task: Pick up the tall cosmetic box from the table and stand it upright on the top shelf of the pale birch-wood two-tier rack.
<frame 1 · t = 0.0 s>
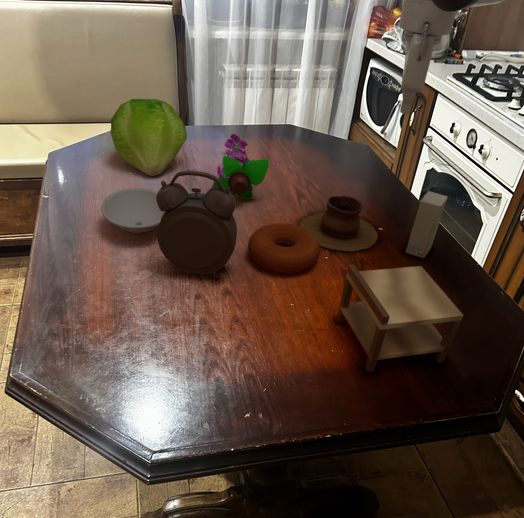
hand: (405, 105, 96), 29 cm above the table, tool pointing down, fingers open, 8 cm apart
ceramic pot: (338, 232, 117), on the table
alarm clock: (198, 271, 101), on the table
donut: (282, 258, 107), on the table
dish: (138, 228, 111), on the table
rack: (388, 339, 89), on the table
potted plant: (233, 178, 133), on the table
cosmetic box: (417, 250, 113), on the table
lettuce: (151, 165, 136), on the table
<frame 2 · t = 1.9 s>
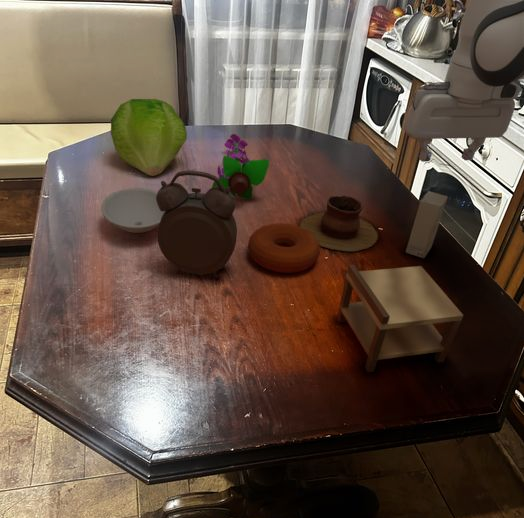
hand: (445, 159, 100), 20 cm above the table, tool pointing down, fingers open, 8 cm apart
nothing on the table moved.
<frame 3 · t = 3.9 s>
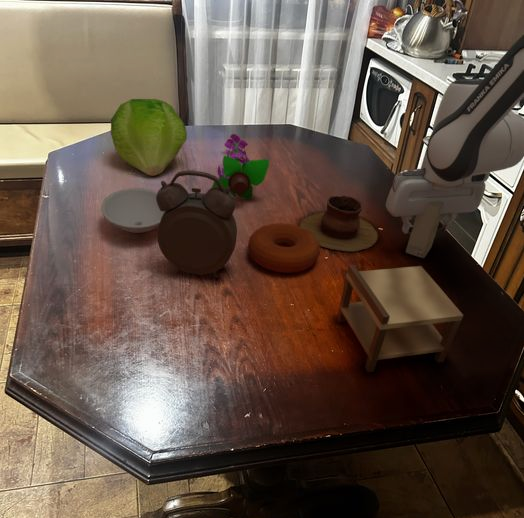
hand: (424, 231, 110), 5 cm above the table, tool pointing down, fingers closed on cosmetic box, 7 cm apart
cosmetic box: (417, 250, 113), on the table, touching gripper
everything else where it was.
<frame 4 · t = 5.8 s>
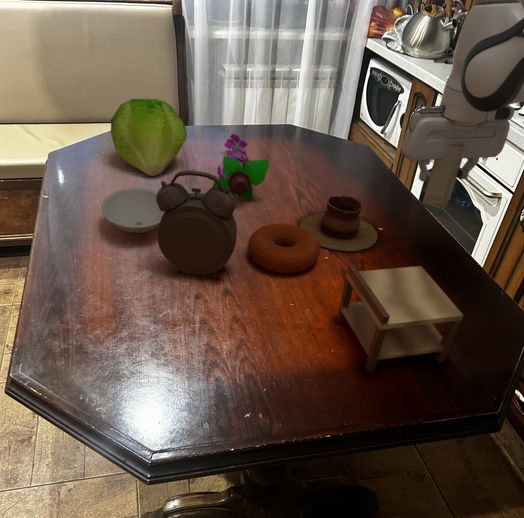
hand: (442, 179, 102), 16 cm above the table, tool pointing down, fingers closed on cosmetic box, 7 cm apart
cosmetic box: (435, 202, 105), point 11 cm above the table, touching gripper
everything else where it was.
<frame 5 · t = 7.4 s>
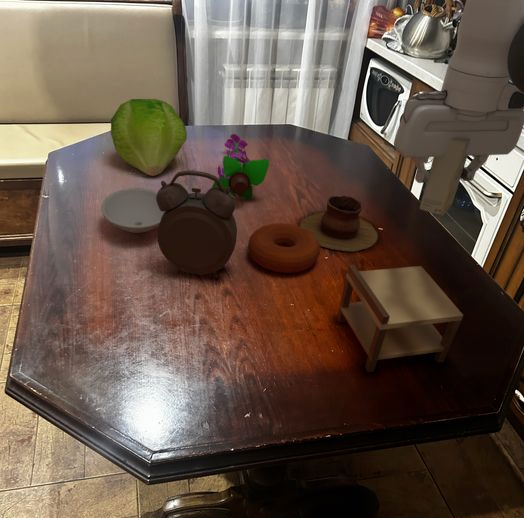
hand: (443, 180, 85), 23 cm above the table, tool pointing down, fingers closed on cosmetic box, 7 cm apart
cosmetic box: (435, 207, 89), point 18 cm above the table, touching gripper
everything else where it was.
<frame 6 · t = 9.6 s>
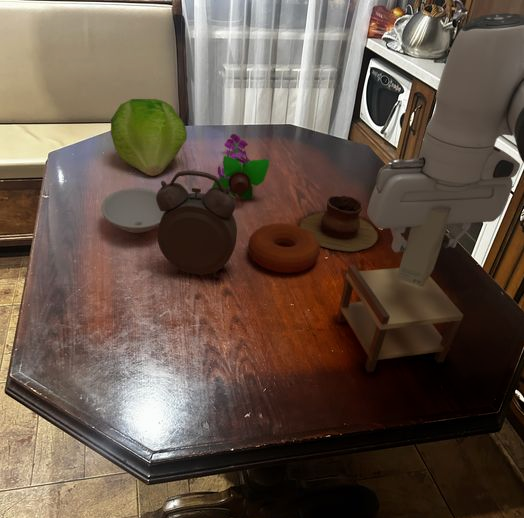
hand: (423, 248, 77), 18 cm above the table, tool pointing down, fingers closed on cosmetic box, 7 cm apart
cosmetic box: (414, 275, 81), point 13 cm above the table, touching gripper
everything else where it was.
when the fingers open (15 cm above the table, at t = 11.2 s): cosmetic box stays where it is, resting on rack.
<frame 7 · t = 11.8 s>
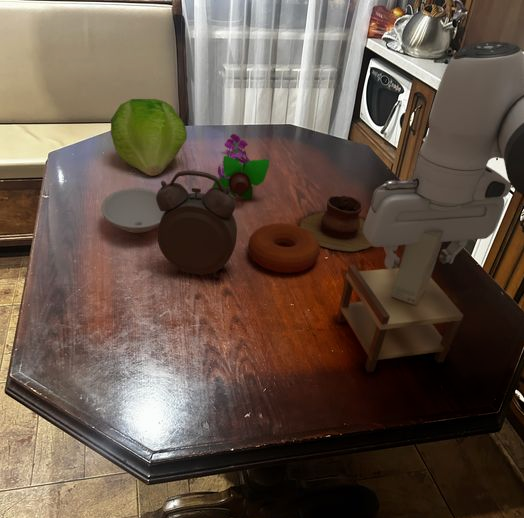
hand: (418, 264, 79), 15 cm above the table, tool pointing down, fingers open, 8 cm apart
cosmetic box: (408, 293, 83), point 10 cm above the table, touching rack
everything else where it was.
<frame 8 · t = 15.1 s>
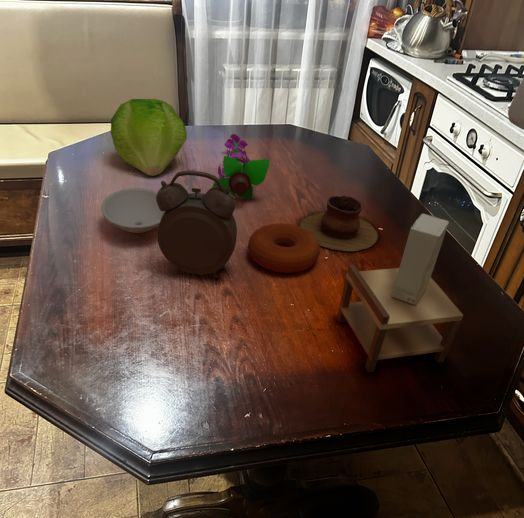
nothing on the table moved.
at the end: cosmetic box inside the target area on the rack (1.0 cm from its centre), point 9.8 cm above the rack's base; cosmetic box tilted 0°; the gripper is holding nothing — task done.
